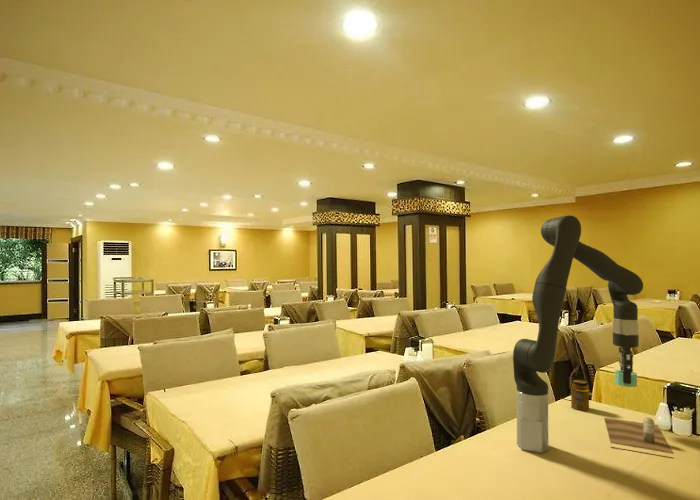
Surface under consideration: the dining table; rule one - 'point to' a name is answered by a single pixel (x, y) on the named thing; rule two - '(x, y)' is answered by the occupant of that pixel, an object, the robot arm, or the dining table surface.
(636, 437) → the board
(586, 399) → the condiment
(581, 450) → the dining table surface
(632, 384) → the ring
